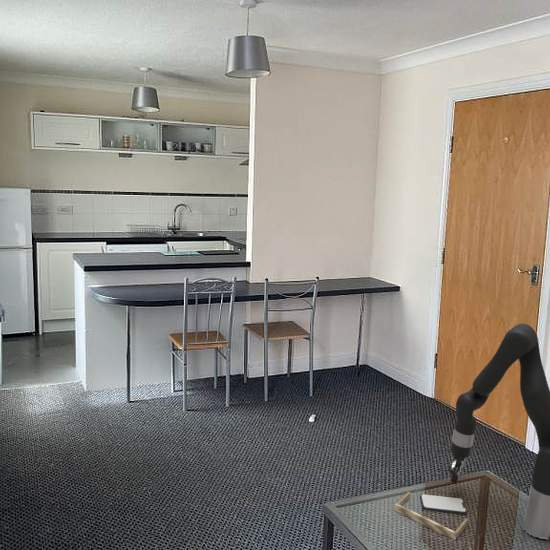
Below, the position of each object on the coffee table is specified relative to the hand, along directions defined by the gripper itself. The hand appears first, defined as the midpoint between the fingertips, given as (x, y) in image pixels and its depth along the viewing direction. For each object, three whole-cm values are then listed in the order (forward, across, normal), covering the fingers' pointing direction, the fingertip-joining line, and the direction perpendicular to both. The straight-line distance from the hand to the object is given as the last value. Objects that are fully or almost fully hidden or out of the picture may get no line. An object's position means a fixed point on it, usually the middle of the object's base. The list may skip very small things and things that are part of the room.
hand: (454, 482), depth 229 cm
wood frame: (+5, -20, 0) cm, 21 cm away
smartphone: (+6, -10, 0) cm, 11 cm away
